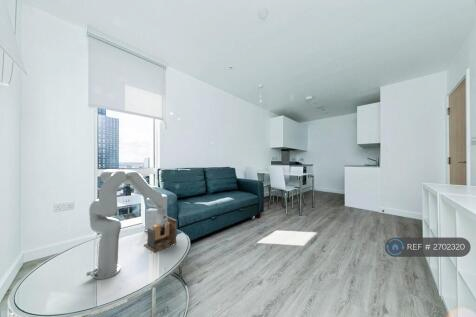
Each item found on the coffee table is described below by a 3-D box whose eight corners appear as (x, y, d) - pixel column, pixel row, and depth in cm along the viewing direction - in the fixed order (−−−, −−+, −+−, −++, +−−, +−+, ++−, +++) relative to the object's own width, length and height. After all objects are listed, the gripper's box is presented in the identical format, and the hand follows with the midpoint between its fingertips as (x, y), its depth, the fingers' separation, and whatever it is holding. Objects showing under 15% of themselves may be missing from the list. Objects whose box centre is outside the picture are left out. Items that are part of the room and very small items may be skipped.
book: (154, 240, 134) (155, 226, 134) (152, 238, 136) (152, 225, 136) (169, 235, 143) (169, 222, 143) (166, 233, 145) (167, 221, 146)
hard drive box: (164, 229, 169) (165, 208, 169) (160, 233, 161) (161, 211, 162) (149, 228, 171) (150, 208, 171) (144, 231, 163) (145, 210, 163)
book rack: (154, 252, 127) (155, 226, 127) (143, 245, 137) (144, 220, 137) (176, 244, 141) (177, 220, 142) (165, 238, 151) (166, 215, 152)
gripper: (171, 212, 137) (171, 235, 137) (160, 208, 148) (160, 230, 148) (162, 214, 132) (161, 238, 131) (151, 209, 142) (151, 232, 142)
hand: (160, 233), depth 139 cm, fingers closed on book, 4 cm apart
